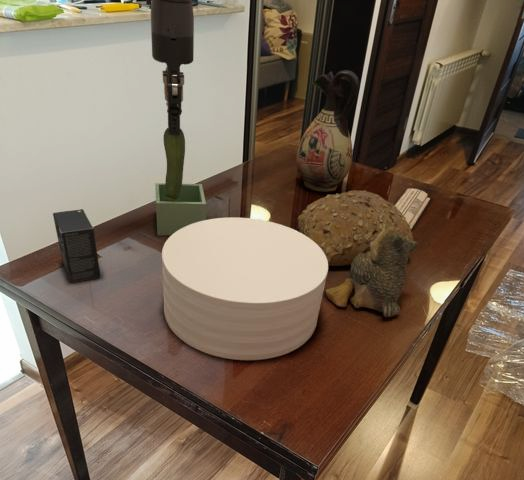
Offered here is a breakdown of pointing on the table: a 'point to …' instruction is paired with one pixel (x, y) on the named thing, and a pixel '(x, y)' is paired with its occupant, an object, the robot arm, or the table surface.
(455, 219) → the table surface
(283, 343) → the plate stack
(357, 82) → the ceramic jug
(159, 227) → the bin
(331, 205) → the bread
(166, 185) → the vegetable
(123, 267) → the table surface
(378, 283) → the figurine
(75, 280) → the box
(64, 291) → the table surface
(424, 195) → the newspaper
